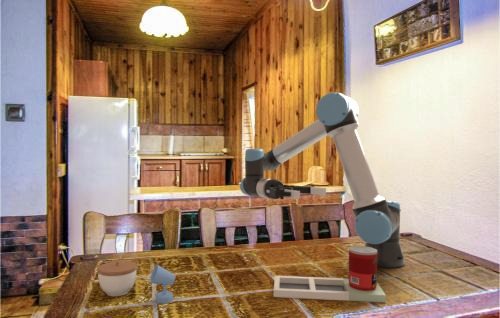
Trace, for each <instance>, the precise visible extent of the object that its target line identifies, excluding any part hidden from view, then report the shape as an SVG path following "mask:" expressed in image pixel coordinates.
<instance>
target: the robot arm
mask: <svg viewBox="0 0 500 318" xmlns="http://www.w3.org/2000/svg"><path fill="white" fill-rule="evenodd" d="M359 113H360V112H359V106H358V104H357V102H356V101H355V100H354V99H353V98H351V97H350V96H347V95H345V94H343V93H341V92H327V93H326V94H324V95H323V96H322V97H320V99H319V100H318V102H317V103H316V107H315V114H316V117H317V120H315V121H314V122H311V123H310V124H309V125H307V126H306V127H304V128H302V129H301V130H300V131H298V132H297V133H295V134H293V135H292V136H290V137H288V138H287V139H286V140H284V141H282V142H281V143H279V144H277V145H276V146H275V147H273V148H272V149H270V150H269V151H267V152H264V149H263V148H246V150H245V155H244V169H245V171H244V174H245V175H244V177H243V178H242V179H241V181H240V184H239V189H240V191H241V193H242V194H244V195H245V196H249V197H257V198H264V200H267V199H270V200H271V199H272V200H284V199H285V198H286V199H293V200H294V199H295V200H300V199H301V194H302V195H303V194H306V195H307V194H308V195H309V194H310V195H314V196H322V197H323V196H324V197H325V196H327V187H318V186H317V187H316V186H315V185H314V184H311V186H310V185H309V186H308V185H302V186H301V185H293V184H290V185H288V184H284V183H283V182H282V180H280V179H275V178H273V179H271V178H264V175H265V174H264V173H265V172H266V171H267V172H268V171H274V170H276V169H279V168H280V166H281V165H282V164H283V163H285V162H286V161H288V160H290V159H291V158H293V157H295V156H296V155H298V154H299V153H301V152H303V151H305V150H307V149H308V148H309V147H311V146H312V145H315V144H317V143H318V142H320V141H321V140H322V139H324V138H326V137H330V138H332V140H333V143H334V146H335V149H336V151H337V155H338V157H339V160H340V163H341V166H342V170H343V172H344V175H345V178H346V181H347V184H348V187H349V191H350V192H351V196H352V198H353V199H352V200H353V202H354V203H353V205H352V208H351V209H352V213H353V215H354V219H355V221H354V230H355V233H356V234H357V236H358V237H359V239H361V240H362V241H364V242H365V244H364V246H366V247H371V248H374V249H376V250H377V268H378V267H379V268H399V267H403V266H404V265H405V256H404V252H403V250H402V249H403V248H402V246H401V243H400V239H401V238H400V237H401V235H400V233H401V231H400V230H401V211H402V209H401V205H400V202H398V201H390V200H389V201H388V200H386V197H384V196H381V195H380V194H379V193H380V192H379V191H378V188H377V185H376V182H375V180H374V177H373V174H372V171H371V168H370V165H369V162H368V159H367V157H366V154H365V151H364V148H363V145H362V143H361V139H360V137H359V134H358V132H357V129H358V128H359V124H360V123H359V121H358V116H359Z"/></svg>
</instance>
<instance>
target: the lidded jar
mask: <svg viewBox="0 0 500 318" xmlns="http://www.w3.org/2000/svg"><path fill="white" fill-rule="evenodd" d="M137 267H138V264H137V263H136V262H135V261H131V260H120V259H116V260H113V261H110V262H106V263H103V264H100V265H99V266H98V267H97V273H98V274H97V275H98V276H97V277H98V284H99V286H100V289H101V290H102V291H103V292H104V293H105V294H106V295H107V296H109V297H121V296H125V295H127V294H128V293H129V291H130V290H131V289H132V288H133V286H134V285H135V282H136V279H137V269H138V268H137Z"/></svg>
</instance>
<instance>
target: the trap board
mask: <svg viewBox="0 0 500 318" xmlns="http://www.w3.org/2000/svg"><path fill="white" fill-rule="evenodd" d="M273 298H287V299H289V298H290V299H308V300H328V301H329V300H330V301H349V302H350V301H351V302H352V301H353V302H371V303H387V295H386V293H385V292H384V290H383V288H382V287H381V286H380V284H379V283H378V282H377V286H376V288H375V289H374V290H371V291H362V290H357V289H354V288H352V287H351V286H350V285H349V278H342V277H340V278H339V277H315V276H296V275H295V276H294V275H293V276H291V275H275V276H274V284H273Z"/></svg>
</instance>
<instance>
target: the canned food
mask: <svg viewBox="0 0 500 318" xmlns="http://www.w3.org/2000/svg"><path fill="white" fill-rule="evenodd" d="M348 279H349V285H350V286H351V287H352V288H354V289H357V290H362V291H371V290H374V289H375V288H376V286H377V283H378V266H377V250H376V249H374V248H371V247H366V246H365V245H353V246H350V247H349V248H348Z"/></svg>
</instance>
